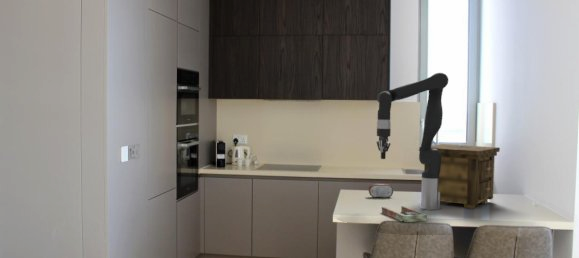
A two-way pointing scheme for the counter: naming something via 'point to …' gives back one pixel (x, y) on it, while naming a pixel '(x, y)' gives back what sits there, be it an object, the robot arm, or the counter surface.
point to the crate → (466, 173)
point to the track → (405, 217)
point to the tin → (380, 190)
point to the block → (411, 213)
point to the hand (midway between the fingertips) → (383, 158)
